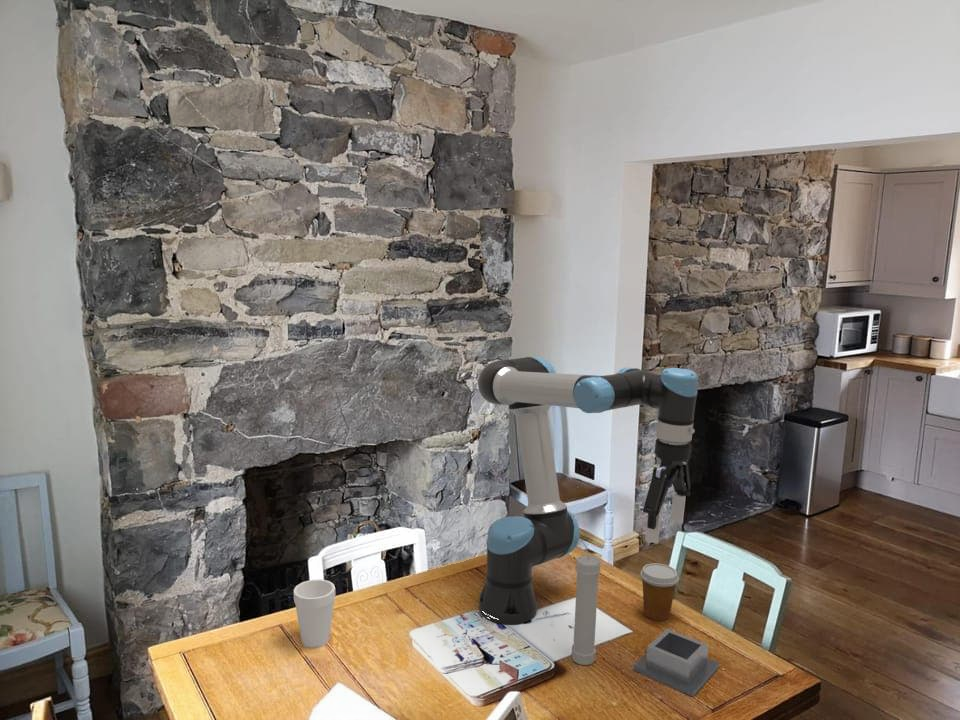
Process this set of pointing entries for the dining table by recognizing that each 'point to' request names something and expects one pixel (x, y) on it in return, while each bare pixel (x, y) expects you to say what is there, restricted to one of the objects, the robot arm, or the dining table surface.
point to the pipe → (585, 609)
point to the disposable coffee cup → (658, 590)
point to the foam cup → (314, 611)
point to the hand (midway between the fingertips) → (664, 531)
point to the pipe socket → (677, 662)
